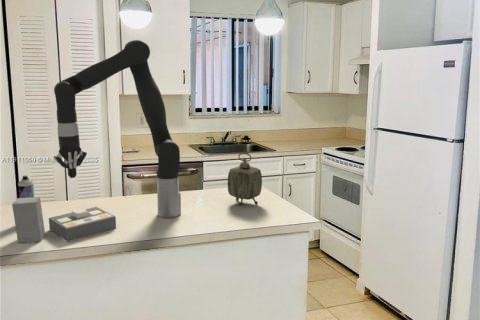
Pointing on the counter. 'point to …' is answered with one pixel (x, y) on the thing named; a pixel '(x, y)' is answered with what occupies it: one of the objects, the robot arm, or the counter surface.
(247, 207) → the counter surface
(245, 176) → the tabletop clock
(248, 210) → the counter surface
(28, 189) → the spray can
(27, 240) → the skincare box
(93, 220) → the button panel
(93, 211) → the button
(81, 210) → the middle button
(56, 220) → the button
